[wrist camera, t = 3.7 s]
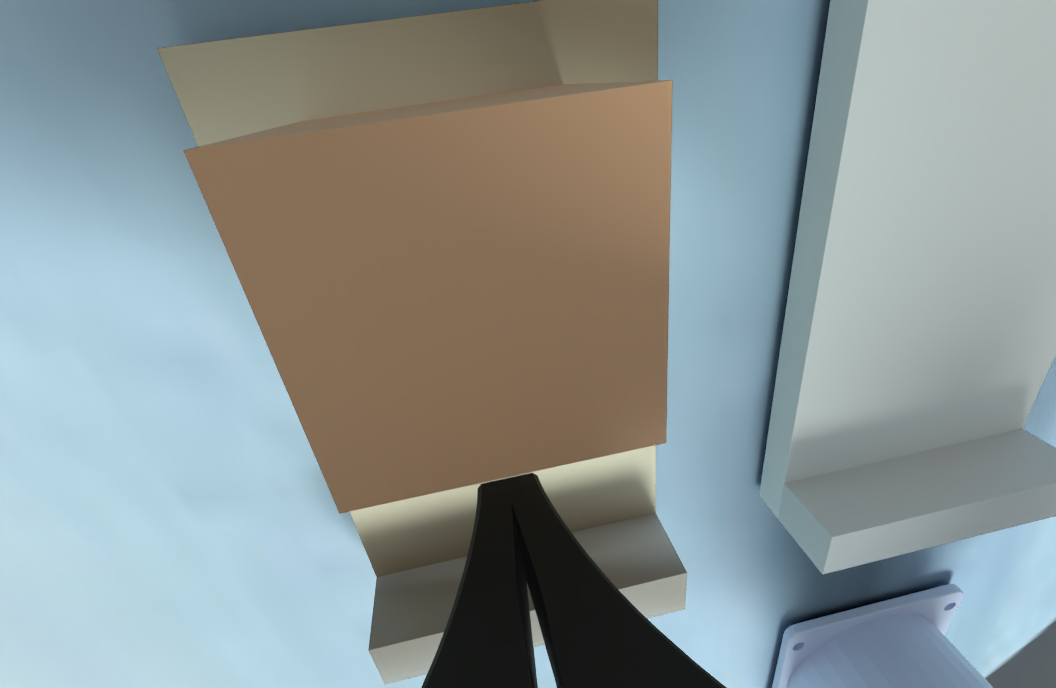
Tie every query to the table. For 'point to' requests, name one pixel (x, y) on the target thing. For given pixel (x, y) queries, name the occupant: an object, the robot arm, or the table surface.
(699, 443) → the table surface
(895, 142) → the grey strip
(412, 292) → the block
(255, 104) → the beige lipped tray
